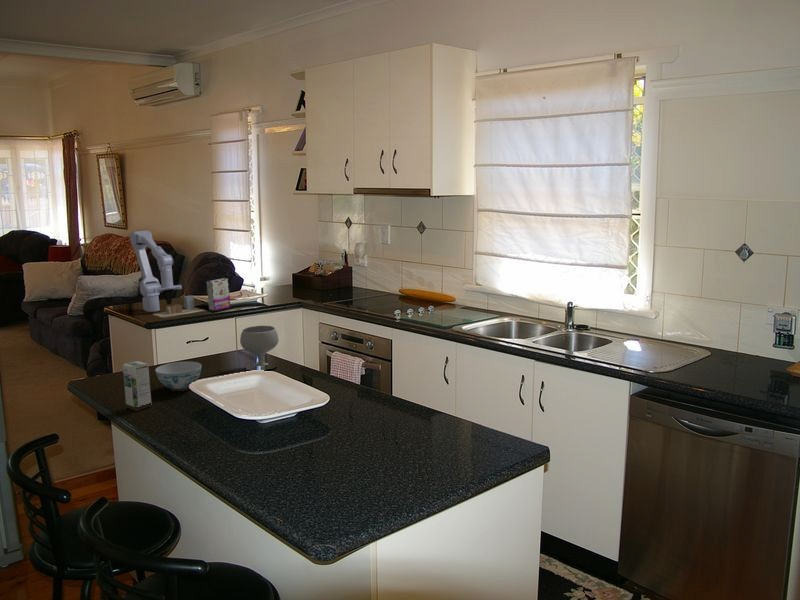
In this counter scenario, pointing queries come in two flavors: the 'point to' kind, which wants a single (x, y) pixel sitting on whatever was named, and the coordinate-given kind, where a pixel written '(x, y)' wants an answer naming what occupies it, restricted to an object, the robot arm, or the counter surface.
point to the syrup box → (137, 383)
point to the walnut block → (174, 309)
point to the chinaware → (178, 374)
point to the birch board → (178, 313)
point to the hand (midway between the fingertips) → (169, 304)
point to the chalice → (259, 341)
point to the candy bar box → (218, 294)
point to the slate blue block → (189, 302)
